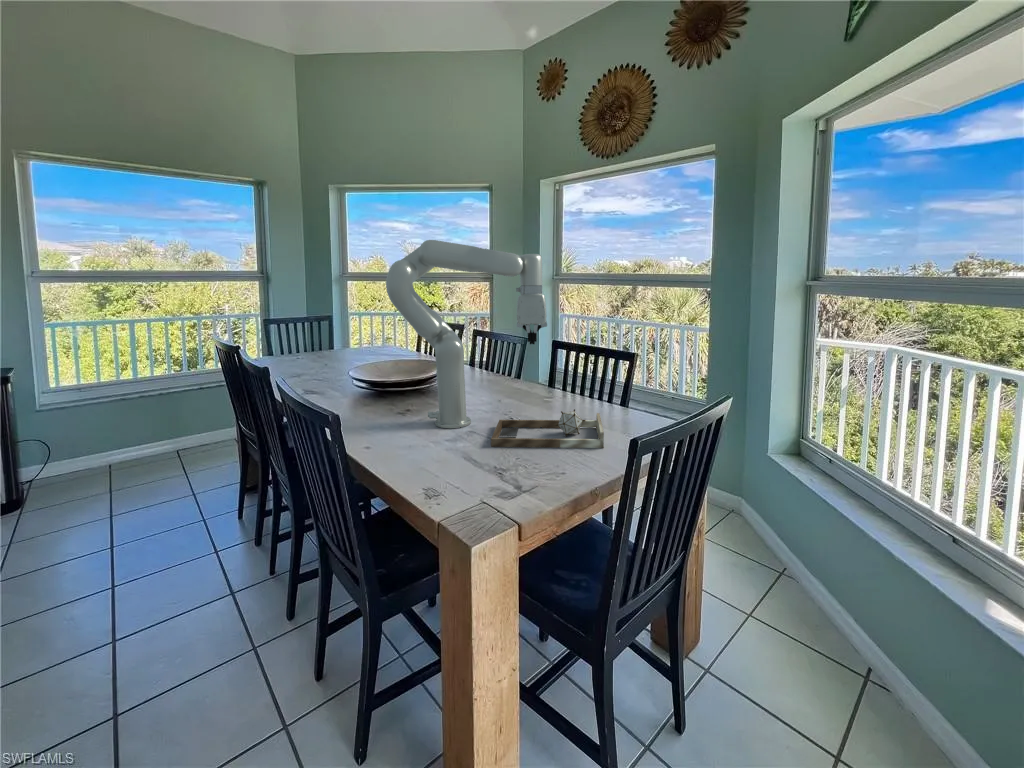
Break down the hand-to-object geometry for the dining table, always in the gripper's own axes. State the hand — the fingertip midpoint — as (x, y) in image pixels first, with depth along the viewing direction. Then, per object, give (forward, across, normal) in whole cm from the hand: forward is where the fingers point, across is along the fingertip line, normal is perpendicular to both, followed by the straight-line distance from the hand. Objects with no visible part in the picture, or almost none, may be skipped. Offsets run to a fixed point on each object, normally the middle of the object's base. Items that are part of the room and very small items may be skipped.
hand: (532, 343), depth 177 cm
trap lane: (+27, +6, -21) cm, 35 cm away
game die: (+27, +13, -19) cm, 36 cm away
